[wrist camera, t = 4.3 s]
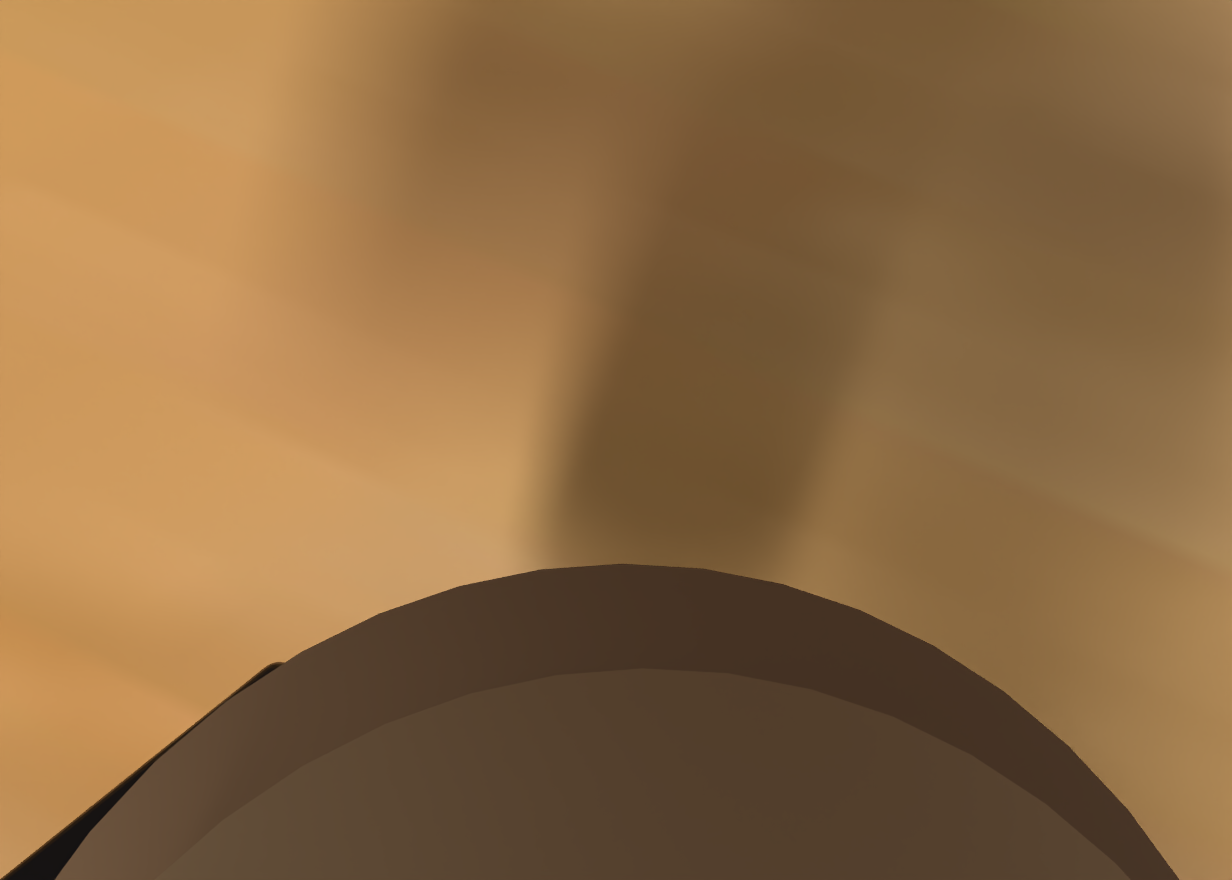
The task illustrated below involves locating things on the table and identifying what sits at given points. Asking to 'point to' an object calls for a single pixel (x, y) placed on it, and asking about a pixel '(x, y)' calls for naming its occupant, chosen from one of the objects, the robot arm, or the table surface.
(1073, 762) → the pepper mill
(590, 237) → the table surface
